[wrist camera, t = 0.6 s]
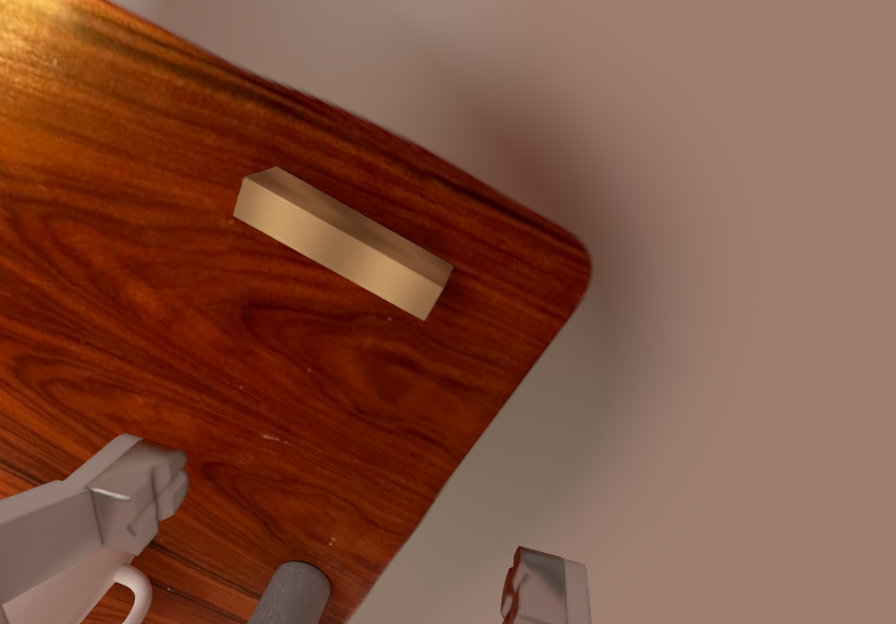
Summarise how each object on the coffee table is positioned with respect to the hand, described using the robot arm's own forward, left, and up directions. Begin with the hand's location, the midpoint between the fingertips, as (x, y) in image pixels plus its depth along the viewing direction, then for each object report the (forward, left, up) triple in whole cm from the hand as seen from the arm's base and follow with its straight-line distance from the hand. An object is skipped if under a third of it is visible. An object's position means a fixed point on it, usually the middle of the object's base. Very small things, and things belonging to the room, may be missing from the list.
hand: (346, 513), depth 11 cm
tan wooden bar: (0, -5, -15) cm, 16 cm away
